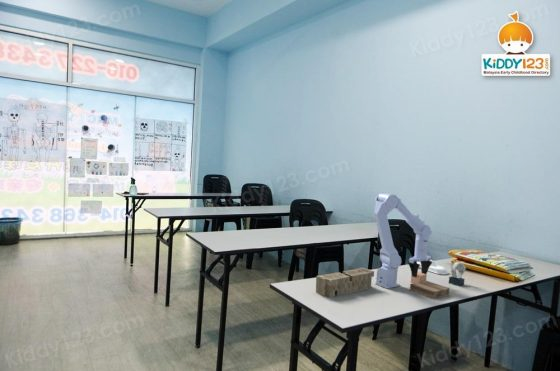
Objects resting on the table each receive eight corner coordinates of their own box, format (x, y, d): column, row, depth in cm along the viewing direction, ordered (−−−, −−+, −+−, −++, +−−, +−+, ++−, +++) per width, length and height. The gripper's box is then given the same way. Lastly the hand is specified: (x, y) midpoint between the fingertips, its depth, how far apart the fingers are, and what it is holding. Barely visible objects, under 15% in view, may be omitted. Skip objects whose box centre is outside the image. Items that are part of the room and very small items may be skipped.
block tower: (327, 300, 161) (374, 288, 178) (328, 281, 161) (375, 270, 178) (315, 294, 168) (361, 282, 185) (315, 275, 167) (362, 265, 184)
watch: (466, 284, 191) (468, 262, 191) (457, 286, 187) (459, 264, 186) (455, 281, 196) (457, 260, 195) (446, 283, 191) (448, 261, 191)
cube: (419, 285, 185) (420, 275, 185) (410, 282, 189) (411, 272, 189) (425, 284, 188) (426, 274, 188) (417, 281, 192) (417, 271, 192)
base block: (432, 298, 167) (433, 292, 167) (409, 290, 177) (410, 283, 177) (448, 294, 174) (449, 288, 174) (425, 286, 184) (426, 280, 184)
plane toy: (440, 276, 204) (441, 265, 204) (409, 266, 220) (409, 256, 220) (451, 274, 210) (452, 263, 209) (420, 264, 226) (421, 255, 226)
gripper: (418, 251, 180) (416, 280, 181) (437, 249, 188) (435, 276, 189) (406, 248, 186) (404, 275, 187) (424, 245, 194) (422, 272, 195)
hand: (419, 275), depth 188 cm, fingers open, 7 cm apart
